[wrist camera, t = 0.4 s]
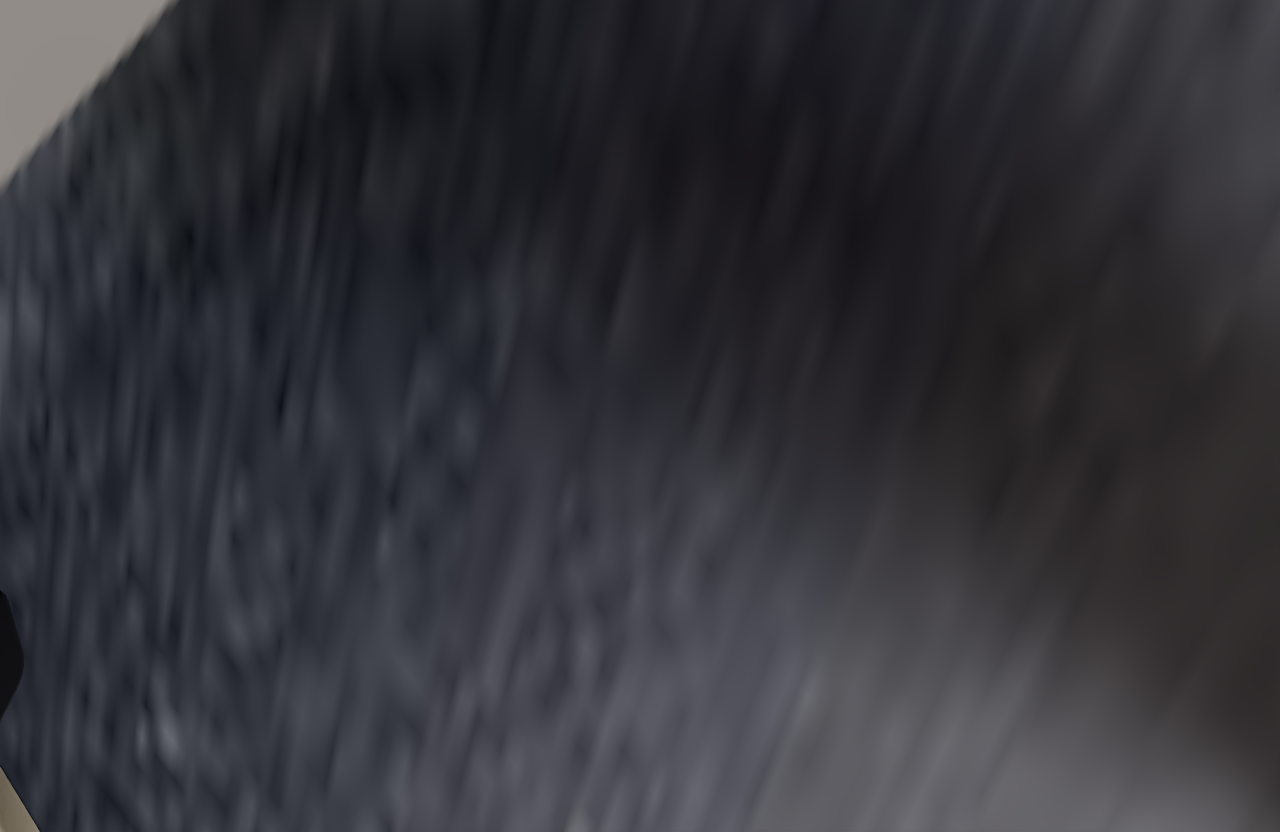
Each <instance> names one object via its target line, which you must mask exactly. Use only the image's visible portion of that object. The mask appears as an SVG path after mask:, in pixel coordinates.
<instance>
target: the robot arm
mask: <svg viewBox="0 0 1280 832" xmlns="http://www.w3.org/2000/svg"><path fill="white" fill-rule="evenodd" d="M23 668H24V654H23V649H22V646H21V643H20V639H19V636H18V632H17V629H16V625H15V622H14V618H13V615H12V612H11V608H10V605H9V601H8V599H7V597H6V595H5V594H4V593H3V592H2V591H1V590H0V721H1V719H2V717H3V715H4V713H5V711H6V709H7V707H8V705H9V703H10V701H11V699H12V697H13V695H14V694H15V692H16V690H17V687H18V685H19V683H20V680H21V677H22V673H23Z"/></svg>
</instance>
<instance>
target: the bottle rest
mask: <svg viewBox="0 0 1280 832" xmlns="http://www.w3.org/2000/svg"><path fill="white" fill-rule="evenodd" d="M0 832H40V831H39V830H38V828H37V826H36V825H35V823H34V821H33V820H32V818H31V816H30V815H29V813H28V811H27V810H26V808H25V807H24V805H23V803H22V802H21V800H20V798H19V797H18V795H17V793H16V792H15V790H14V788H13V787H12V785H11V783H10V782H9V780H8V779H7V777H6V775H5V774H4V772H3V770H2V769H1V767H0Z"/></svg>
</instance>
